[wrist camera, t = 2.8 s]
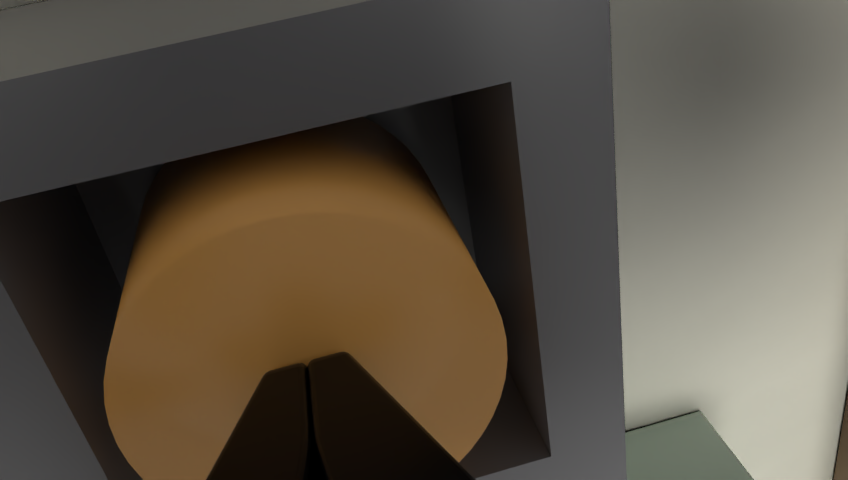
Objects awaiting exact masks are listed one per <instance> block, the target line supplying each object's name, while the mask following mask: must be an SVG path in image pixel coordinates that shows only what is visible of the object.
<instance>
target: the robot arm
mask: <svg viewBox="0 0 848 480" xmlns="http://www.w3.org/2000/svg"><path fill="white" fill-rule="evenodd" d="M206 480H476V479H475V478H474V477H473V476H472V475H471V474H470V473H469V472H468V471H467V470H466V469H465V468H464V467H463V466H462V465H461V464H460V463H459V462H458V461H457V460H456V459H455V458H454V457H453V456H452V455H451V454H450V453H449V452H448V451H447V450H446V449H445V448H444V447H443V446H442V445H441V444H440V443H439V442H438V441H437V440H436V439H435V438H434V437H433V436H432V435H431V434H430V433H429V432H428V431H427V430H426V429H425V428H424V427H423V426H422V425H421V424H420V423H419V422H418V421H417V420H416V419H415V418H414V417H413V416H412V415H411V414H410V413H409V412H408V411H407V410H406V409H405V408H404V407H403V406H402V405H401V404H400V403H399V402H398V401H397V400H396V399H395V398H394V397H393V396H392V395H391V394H390V393H389V392H388V391H387V390H386V389H385V388H384V387H383V386H382V385H381V384H380V383H379V382H378V381H377V380H376V379H375V378H374V377H373V376H372V375H371V374H370V373H369V372H368V371H367V370H366V369H365V368H364V367H363V366H362V365H361V364H360V363H359V362H358V361H357V360H356V359H355V358H354V357H353V356H352V355H350V354H349V353H348V352H344V351H343V352H338V353H334V354H330V355H327V356H323V357H319V358H316V359H313V360H311V361H310V362H309V364H308V368H307V366H306V365H305V364H303V363H297V364H293V365H289V366H285V367H282V368H278V369H274V370H270V371H268V372H266V373H265V374H264V375H263V377H262V378H261V380H260V382H259V384H258V386H257V387H256V389H255V391H254V393H253V395H252V397H251V398H250V400H249V402H248V404H247V406H246V407H245V409H244V411H243V413H242V415H241V417H240V418H239V420H238V422H237V424H236V426H235V428H234V429H233V431H232V433H231V435H230V437H229V439H228V440H227V442H226V444H225V446H224V448H223V449H222V451H221V453H220V455H219V457H218V459H217V460H216V462H215V464H214V466H213V468H212V470H211V471H210V473H209V475H208V477H207V479H206Z"/></svg>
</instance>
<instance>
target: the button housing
mask: <svg viewBox="0 0 848 480" xmlns="http://www.w3.org/2000/svg"><path fill="white" fill-rule="evenodd" d="M358 117H364V118H366V119H368V120H370V121H372V122H374V123H376V124H378V125H379V126H381V127H382V128H384V129H385V130H387V131H388V132H390V133H391V134H392V135H394V136H395V137H396V138H397V139H398V140H399V141H401V142H402V143H403V144H404V145H405V146H406V147H407V148H408V149H409V150H410V151H411V153H412V154H413V155H414V156H415V157H416V159H417V160H418V161H419V162H420V164H421V166H422V167H423V169H424V171H425V172H426V174H427V176H428V177H429V179H430V181H431V183H432V185H433V186H434V188H435V190H436V192H437V194H438V196H439V198H440V199H441V201H442V203H443V205H444V207H445V209H446V211H447V213H448V214H449V216H450V218H451V220H452V222H453V224H454V226H455V227H456V229H457V231H458V233H459V235H460V237H461V239H462V240H463V242H464V244H465V246H466V248H467V250H468V252H469V253H470V255H471V257H472V259H473V261H474V263H475V265H476V267H477V268H478V270H479V272H480V274H481V276H482V278H483V280H484V281H485V283H486V285H487V287H488V289H489V291H490V293H491V294H492V296H493V298H494V300H495V303H496V305H497V308H498V310H499V312H500V315H501V317H502V321H503V325H504V330H505V334H506V339H507V357H508V360H507V369H506V379H505V382H504V386H503V390H502V394H501V398H500V400H499V403H498V405H497V408H496V410H495V412H494V415H493V417H492V419H491V420H490V422H489V424H488V426H487V427H486V429H485V431H484V433H483V434H482V436H481V437H480V438H479V440H478V441H477V442H476V444H475V445H474V446H473V448H472V449H471V450H470V451H469V452H468V454H467V455H466V456H465V457H464V458H463V459H462V460H461V461H460V462H459V463H460V464H461V465H462V466H463V467H464V468H465V469H466V470H467V471H468V472H469V473H470V474H471V475H472V476H473V477H474V478H475V479H476V480H627V471H626V444H625V416H624V389H623V362H622V334H621V307H620V280H619V252H618V225H617V198H616V171H615V143H614V116H613V89H612V61H611V34H610V7H609V0H47V1H42V2H37V3H32V4H28V5H23V6H18V7H13V8H9V9H4V10H0V480H143V479H142V478H141V477H140V476H139V474H138V473H137V472H136V471H135V470H134V469H133V467H132V466H131V465H130V464H129V463H128V461H127V460H126V458H125V457H124V455H123V453H122V452H121V450H120V448H119V447H118V445H117V443H116V441H115V438H114V436H113V433H112V431H111V429H110V426H109V423H108V418H107V414H106V409H105V404H104V375H105V368H106V360H107V356H108V351H109V347H110V343H111V338H112V334H113V330H114V325H115V321H116V317H117V312H118V308H119V304H120V299H121V295H122V291H123V286H124V282H125V278H126V273H127V269H128V265H129V260H130V256H131V252H132V247H133V243H134V239H135V234H136V230H137V226H138V221H139V217H140V213H141V210H142V206H143V203H144V200H145V197H146V194H147V192H148V190H149V188H150V186H151V184H152V182H153V180H154V178H155V176H156V175H157V174H158V172H159V171H160V169H161V168H162V166H163V165H164V163H167V162H171V161H175V160H179V159H184V158H188V157H192V156H196V155H201V154H205V153H209V152H214V151H218V150H222V149H226V148H231V147H235V146H239V145H243V144H248V143H252V142H256V141H260V140H265V139H269V138H273V137H277V136H282V135H286V134H290V133H294V132H299V131H303V130H307V129H311V128H316V127H320V126H324V125H329V124H333V123H337V122H341V121H346V120H350V119H354V118H358Z"/></svg>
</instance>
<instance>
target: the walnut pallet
mask: <svg viewBox="0 0 848 480" xmlns="http://www.w3.org/2000/svg"><path fill="white" fill-rule="evenodd" d="M834 480H848V394H847V400H846V406H845V412H844V419H843V425H842V431H841V437H840V443H839V449H838V455H837V461H836V467H835V474H834Z"/></svg>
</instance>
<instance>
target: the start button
mask: <svg viewBox="0 0 848 480" xmlns="http://www.w3.org/2000/svg"><path fill="white" fill-rule="evenodd" d="M343 351H344V352H348V353H349V354H350V355H352V356H353V357H354V358H355V359H356V360H357V361H358V362H359V363H360V364H361V365H362V366H363V367H364V368H365V369H366V370H367V371H368V372H369V373H370V374H371V375H372V376H373V377H374V378H375V379H376V380H377V381H378V382H379V383H380V384H381V385H382V386H383V387H384V388H385V389H386V390H387V391H388V392H389V393H390V394H391V395H392V396H393V397H394V398H395V399H396V400H397V401H398V402H399V403H400V404H401V405H402V406H403V407H404V408H405V409H406V410H407V411H408V412H409V413H410V414H411V415H412V416H413V417H414V418H415V419H416V420H417V421H418V422H419V423H420V424H421V425H422V426H423V427H424V428H425V429H426V430H427V431H428V432H429V433H430V434H431V435H432V436H433V437H434V438H435V439H436V440H437V441H438V442H439V443H440V444H441V445H442V446H443V447H444V448H445V449H446V450H447V451H448V452H449V453H450V454H451V455H452V456H453V457H454V458H455V459H456V460H457V461H458V462H460V461H461V460H462V459H463V458H464V457H465V456H466V455H467V454H468V452H469V451H470V450H471V449H472V448H473V446H474V445H475V444H476V442H477V441H478V440H479V438H480V437H481V436H482V434H483V433H484V431H485V429H486V427H487V426H488V424H489V422H490V420H491V419H492V417H493V415H494V412H495V410H496V408H497V405H498V403H499V400H500V398H501V394H502V390H503V386H504V382H505V379H506V369H507V360H508V357H507V339H506V334H505V330H504V325H503V321H502V317H501V315H500V312H499V310H498V308H497V305H496V303H495V300H494V298H493V296H492V294H491V293H490V291H489V289H488V287H487V285H486V283H485V281H484V280H483V278H482V276H481V274H480V272H479V270H478V268H477V267H476V265H475V263H474V261H473V259H472V257H471V255H470V253H469V252H468V250H467V248H466V246H465V244H464V242H463V240H462V239H461V237H460V235H459V233H458V231H457V229H456V227H455V226H454V224H453V222H452V220H451V218H450V216H449V214H448V213H447V211H446V209H445V207H444V205H443V203H442V201H441V199H440V198H439V196H438V194H437V192H436V190H435V188H434V186H433V185H432V183H431V181H430V179H429V177H428V176H427V174H426V172H425V171H424V169H423V167H422V166H421V164H420V162H419V161H418V160H417V159H416V157H415V156H414V155H413V154H412V153H411V151H410V150H409V149H408V148H407V147H406V146H405V145H404V144H403V143H402V142H401V141H399V140H398V139H397V138H396V137H395V136H394V135H392V134H391V133H390V132H388V131H387V130H385V129H384V128H382V127H381V126H379V125H378V124H376V123H374V122H372V121H370V120H368V119H366V118H364V117H358V118H354V119H350V120H346V121H341V122H337V123H333V124H329V125H324V126H320V127H316V128H311V129H307V130H303V131H299V132H294V133H290V134H286V135H282V136H277V137H273V138H269V139H265V140H260V141H256V142H252V143H248V144H243V145H239V146H235V147H231V148H226V149H222V150H218V151H214V152H209V153H205V154H201V155H196V156H192V157H188V158H184V159H179V160H175V161H171V162H167V163H164V165H163V166H162V168H161V169H160V171H159V172H158V174H157V175H156V176H155V178H154V180H153V182H152V184H151V186H150V188H149V190H148V192H147V194H146V197H145V200H144V203H143V206H142V210H141V213H140V217H139V221H138V226H137V230H136V234H135V239H134V243H133V247H132V252H131V256H130V260H129V265H128V269H127V273H126V278H125V282H124V286H123V291H122V295H121V299H120V304H119V308H118V312H117V317H116V321H115V325H114V330H113V334H112V338H111V343H110V347H109V351H108V356H107V360H106V368H105V375H104V404H105V409H106V414H107V418H108V423H109V426H110V429H111V431H112V433H113V436H114V438H115V441H116V443H117V445H118V447H119V448H120V450H121V452H122V453H123V455H124V457H125V458H126V460H127V461H128V463H129V464H130V465H131V466H132V467H133V469H134V470H135V471H136V472H137V473H138V474H139V476H140V477H141V478H142V479H143V480H206V479H207V477H208V475H209V473H210V471H211V470H212V468H213V466H214V464H215V462H216V460H217V459H218V457H219V455H220V453H221V451H222V449H223V448H224V446H225V444H226V442H227V440H228V439H229V437H230V435H231V433H232V431H233V429H234V428H235V426H236V424H237V422H238V420H239V418H240V417H241V415H242V413H243V411H244V409H245V407H246V406H247V404H248V402H249V400H250V398H251V397H252V395H253V393H254V391H255V389H256V387H257V386H258V384H259V382H260V380H261V378H262V377H263V375H264V374H265V373H266V372H268V371H270V370H274V369H278V368H282V367H285V366H289V365H293V364H297V363H303V364H305V365H306V366H307V368H308V364H309V362H310V361H311V360H313V359H316V358H319V357H323V356H327V355H330V354H334V353H338V352H343Z"/></svg>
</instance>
